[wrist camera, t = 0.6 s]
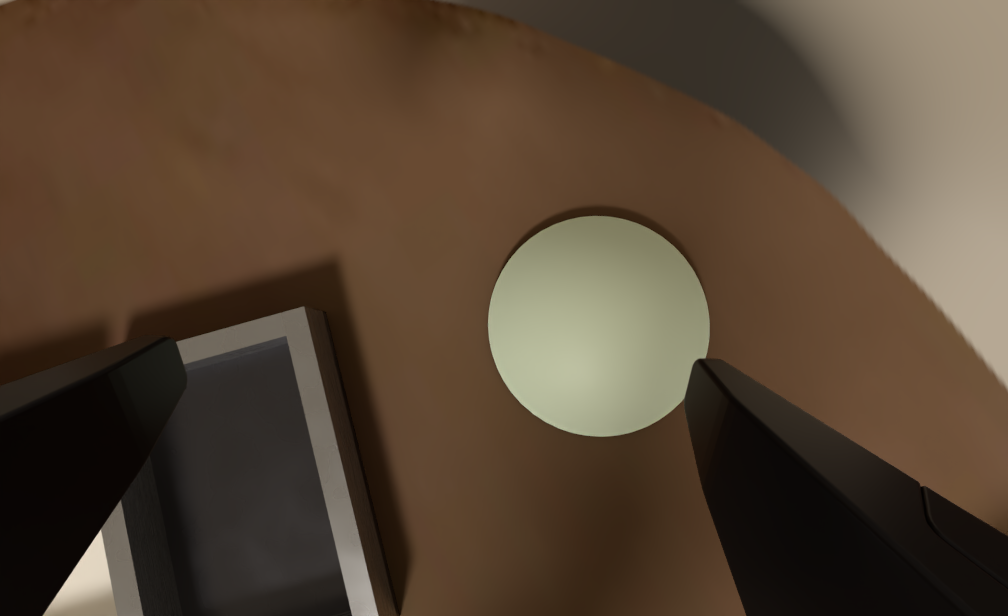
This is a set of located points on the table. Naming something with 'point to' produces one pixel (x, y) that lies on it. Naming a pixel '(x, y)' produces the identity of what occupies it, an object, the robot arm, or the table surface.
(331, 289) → the table surface
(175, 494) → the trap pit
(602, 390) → the pad
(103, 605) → the cream rectangular tray
